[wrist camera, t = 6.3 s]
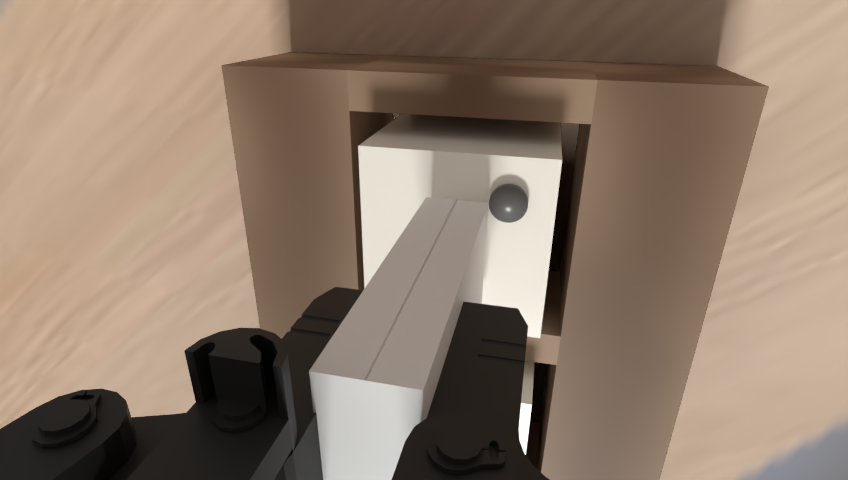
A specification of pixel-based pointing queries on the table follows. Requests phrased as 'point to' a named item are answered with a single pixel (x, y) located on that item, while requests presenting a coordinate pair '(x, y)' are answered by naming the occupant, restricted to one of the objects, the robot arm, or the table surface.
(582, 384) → the brown tile rack
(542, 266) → the three-pip tile
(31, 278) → the table surface
